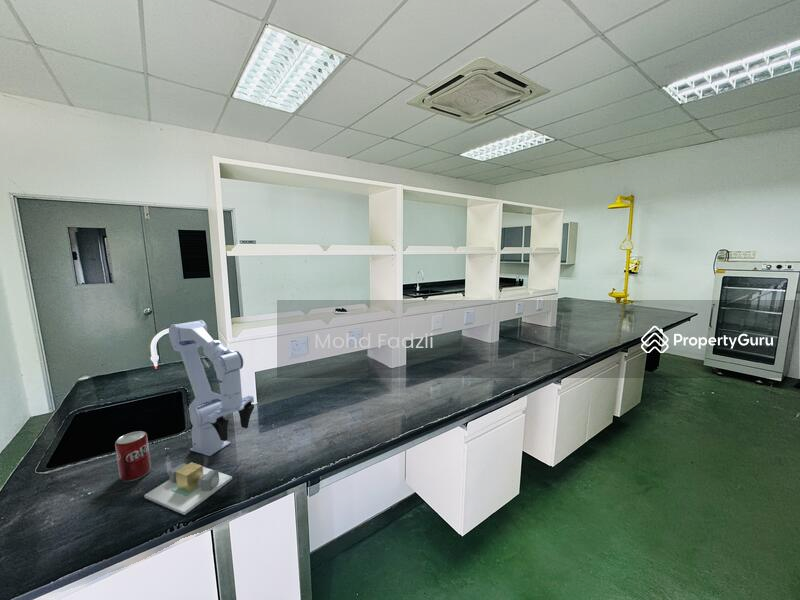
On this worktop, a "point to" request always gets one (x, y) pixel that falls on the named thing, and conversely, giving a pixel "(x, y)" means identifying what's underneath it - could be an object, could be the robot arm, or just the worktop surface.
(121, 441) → the soda can
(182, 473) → the block
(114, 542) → the worktop surface
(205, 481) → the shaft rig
